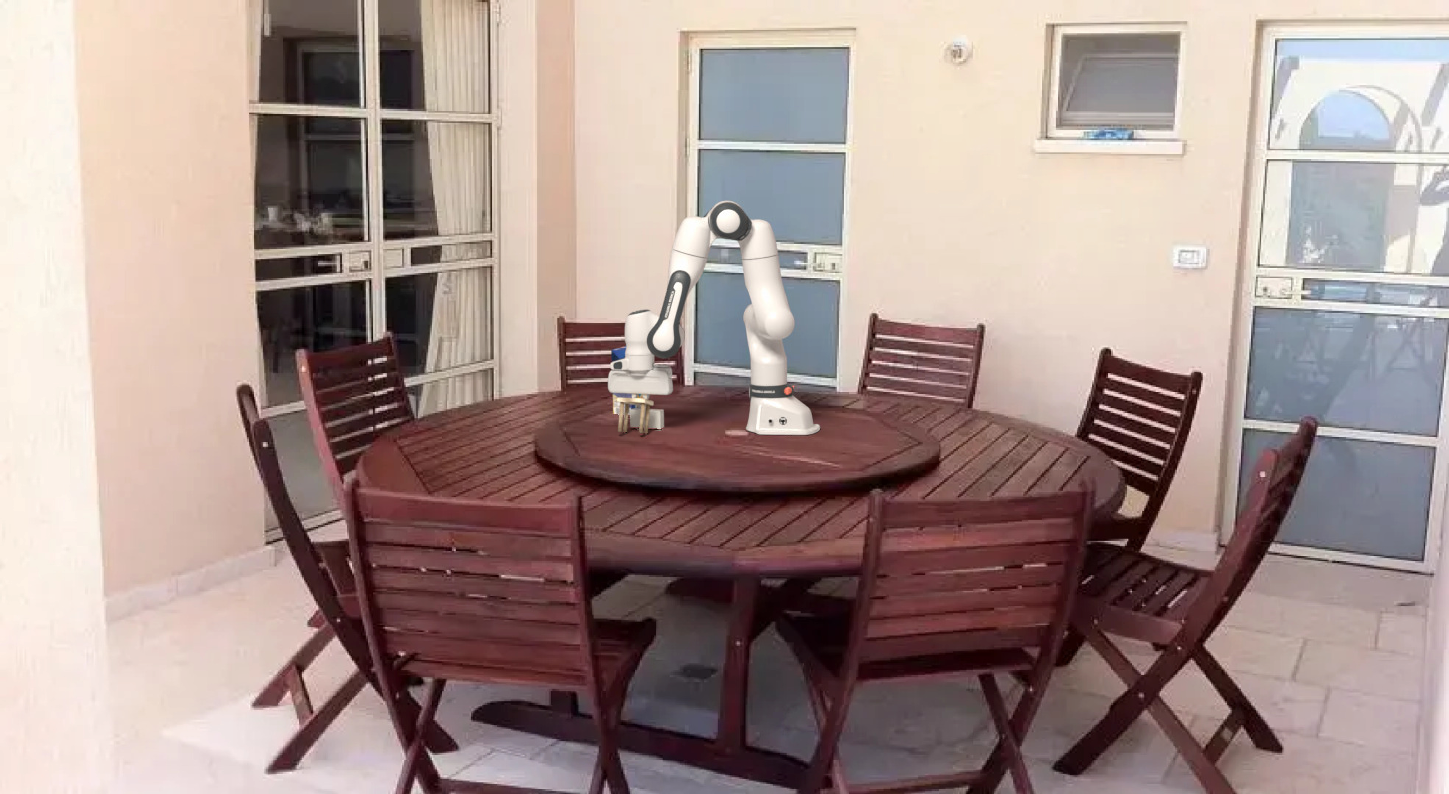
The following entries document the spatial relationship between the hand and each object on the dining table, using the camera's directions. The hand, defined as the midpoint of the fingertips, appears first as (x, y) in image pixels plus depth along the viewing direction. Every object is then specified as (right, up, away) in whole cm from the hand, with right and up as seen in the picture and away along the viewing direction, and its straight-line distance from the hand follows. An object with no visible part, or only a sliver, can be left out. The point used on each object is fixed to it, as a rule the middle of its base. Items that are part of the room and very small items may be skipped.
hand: (640, 408), depth 412 cm
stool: (-2, -7, -6) cm, 10 cm away
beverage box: (-6, -3, +31) cm, 31 cm away
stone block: (+2, -6, +5) cm, 8 cm away
